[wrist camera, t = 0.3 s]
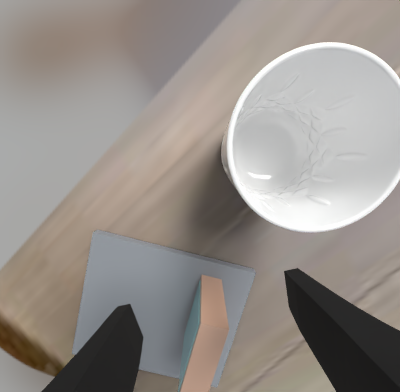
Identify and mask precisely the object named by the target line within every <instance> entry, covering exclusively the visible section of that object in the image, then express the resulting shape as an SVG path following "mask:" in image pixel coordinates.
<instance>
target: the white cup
mask: <svg viewBox="0 0 400 392" xmlns="http://www.w3.org/2000/svg"><path fill="white" fill-rule="evenodd" d="M221 159H222V164H223V167H224V170H225V172H226V174H227V176H228V178H229V180H230V182H231V183H232V184H233V186H234V187H235V188H236V190H237V191H238V193H239V194H240V195H241V197H242V198H243V200H244V201H245V202H246V203H247V205H248V206H249V207H250V208H251V209H252V210H253V211H254V212H256V213H257V214H258V215H259V216H261V217H262V218H263V219H265V220H267V221H268V222H270V223H272V224H274V225H276V226H279V227H281V228H284V229H288V230H292V231H297V232H308V233H314V232H325V231H330V230H334V229H338V228H341V227H344V226H347V225H349V224H351V223H353V222H355V221H357V220H359V219H361V218H363V217H364V216H366V215H367V214H369V213H370V212H371V211H373V210H374V209H375V208H376V207H377V206H379V205H380V204H381V203H382V202H383V201H384V200H385V199H386V198H387V196H388V195H389V194H390V193H391V192H392V190H393V189H394V188H395V186H396V185H397V183H398V181H399V180H400V79H399V77H398V76H397V75H396V73H395V72H394V71H393V70H392V69H391V68H390V66H388V65H387V64H386V63H385V62H384V61H383V60H382V59H380V58H379V57H377V56H376V55H374V54H373V53H371V52H369V51H367V50H365V49H362V48H360V47H357V46H353V45H349V44H344V43H334V42H326V43H316V44H310V45H306V46H302V47H299V48H297V49H294V50H292V51H289V52H287V53H285V54H283V55H281V56H280V57H278V58H276V59H275V60H273V61H272V62H271V63H269V64H268V65H267V66H266V67H264V68H263V69H262V70H261V71H260V72H259V73H258V74H257V75H256V76H255V77H254V78H253V79H252V81H251V82H250V83H249V84H248V86H247V87H246V88H245V90H244V91H243V93H242V95H241V96H240V98H239V100H238V102H237V104H236V106H235V108H234V111H233V113H232V116H231V118H230V121H229V123H228V125H227V128H226V130H225V133H224V137H223V141H222V147H221Z"/></svg>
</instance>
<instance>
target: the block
mask: <svg viewBox="0 0 400 392" xmlns="http://www.w3.org/2000/svg"><path fill="white" fill-rule="evenodd" d="M228 332H229V325H228V319H227V312H226V305H225V299H224V292H223V285H222V279H218V278H214V277H210V276H206V275H201V279H200V281H199V284H198V288H197V291H196V295H195V298H194V302H193V305H192V309H191V312H190V316H189V319H188V323H187V326H186V330H185V333H184V340H183V349H182V358H181V367H180V376H179V385H178V392H209V390H210V387H211V384H212V381H213V378H214V375H215V372H216V369H217V366H218V363H219V360H220V356H221V353H222V350H223V347H224V344H225V341H226V338H227V335H228Z"/></svg>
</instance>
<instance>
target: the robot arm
mask: <svg viewBox="0 0 400 392" xmlns="http://www.w3.org/2000/svg"><path fill="white" fill-rule="evenodd" d="M284 273H285V281H286V288H287V296H288V303H289V308H290V310H291V313H292V315H293V317H294V319H295V321H296V323H297V325H298V327H299V330H300V332H301V333H302V335H303V337H304V338H305V340H306V342H307V343H308V345H309V347H310V348H311V350H312V352H313V354H314V355H315V357H316V359H317V360H318V362H319V364H320V365H321V367H322V369H323V370H324V372H325V374H326V375H327V377H328V378H329V380H330V382H331V383H332V385H333V387H334V388H335V390H336V392H400V331H399V330H397V329H395V328H393V327H391V326H389V325H388V324H386V323H384V322H382V321H380V320H378V319H377V318H375V317H373V316H371V315H370V314H368V313H366V312H365V311H363V310H361V309H359V308H358V307H356V306H354V305H353V304H351V303H349V302H348V301H346V300H345V299H343V298H342V297H340V296H338V295H337V294H335V293H334V292H332V291H331V290H329V289H328V288H326V287H325V286H323V285H322V284H320V283H319V282H317V281H316V280H314V279H313V278H311V277H310V276H308V275H307V274H305V273H304V272H302V271H301V270H299V269H298V268H297V269H292V270H287V271H284ZM142 345H143V335H142V332H141V329H140V327H139V324H138V322H137V319H136V317H135V314H134V312H133V309H132V307H131V304H126V305H122V306H118V307H117V308H116V309H115V310H114V311H113V312H112V313H111V314H110V315H109V317H108V318H107V319H106V320H105V321H104V322H103V324H102V325H101V326H100V327H99V328H98V329H97V331H96V332H95V333H94V334H93V335H92V337H91V338H90V339H89V340H88V341H87V342H86V343H85V345H84V346H83V347H82V348H81V349H80V350H79V352H78V353H77V354H76V355H75V356H74V357H73V358H72V359H71V360H70V362H69V363H68V364H67V365H66V366H65V367H64V368H63V369H62V370H61V371H60V373H59V374H58V375H57V376H56V377H55V378H54V379H53V380H52V381H51V382H50V384H48V385H47V386H46V388H45V389H44V390H43V391H42V392H133V389H134V385H135V381H136V377H137V373H138V369H139V365H140V359H141V352H142Z"/></svg>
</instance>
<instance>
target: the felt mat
mask: <svg viewBox="0 0 400 392" xmlns="http://www.w3.org/2000/svg"><path fill="white" fill-rule="evenodd" d="M255 274H256V273H255V270H254V269H253V268H249V267H245V266H241V265H237V264H233V263H229V262H225V261H221V260H217V259H213V258H209V257H205V256H201V255H197V254H193V253H189V252H185V251H181V250H177V249H173V248H169V247H165V246H161V245H157V244H153V243H149V242H145V241H141V240H137V239H133V238H129V237H125V236H121V235H117V234H113V233H109V232H105V231H101V230H96V231H94V232H93V235H92V241H91V247H90V252H89V258H88V264H87V270H86V275H85V281H84V287H83V293H82V298H81V304H80V310H79V316H78V321H77V327H76V333H75V338H74V344H73V350H72V354H75V355H76V354H77V353H78V352H79V350H80V349H81V348H82V347H83V346H84V345H85V343H86V342H87V341H88V340H89V339H90V338H91V337H92V335H93V334H94V333H95V332H96V331H97V329H98V328H99V327H100V326H101V325H102V324H103V322H104V321H105V320H106V319H107V318H108V317H109V315H110V314H111V313H112V312H113V311H114V310H115V309H116V308H117V307H118V306H122V305H126V304H131V307H132V309H133V312H134V314H135V317H136V319H137V322H138V324H139V327H140V329H141V332H142V335H143V345H142V352H141V359H140V365H139V369H140V370H144V371H148V372H152V373H157V374H161V375H165V376H170V377H174V378H178V379H179V376H180V367H181V358H182V349H183V340H184V333H185V330H186V326H187V323H188V319H189V316H190V312H191V309H192V305H193V302H194V298H195V295H196V291H197V288H198V284H199V281H200V279H201V275H206V276H210V277H214V278H218V279H222V285H223V292H224V299H225V305H226V312H227V319H228V325H229V332H228V335H227V338H226V341H225V344H224V347H223V350H222V353H221V356H220V360H219V363H218V366H217V369H216V372H215V375H214V378H213V381H212V384H211V386H213V387H218V384H219V381H220V378H221V375H222V372H223V369H224V366H225V363H226V360H227V357H228V354H229V351H230V348H231V345H232V342H233V339H234V336H235V333H236V330H237V327H238V324H239V321H240V318H241V315H242V313H243V310H244V307H245V304H246V301H247V298H248V295H249V292H250V289H251V286H252V283H253V280H254V277H255Z"/></svg>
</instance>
